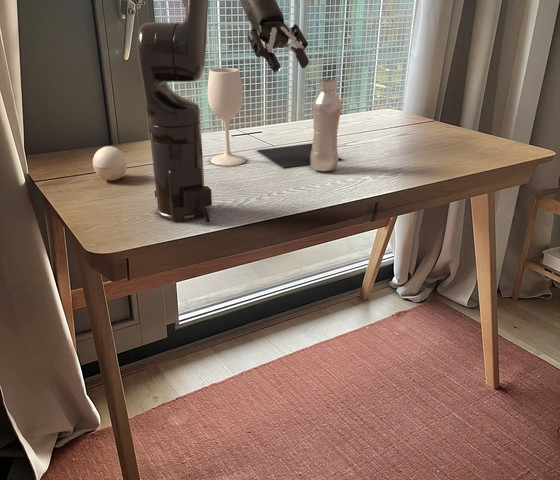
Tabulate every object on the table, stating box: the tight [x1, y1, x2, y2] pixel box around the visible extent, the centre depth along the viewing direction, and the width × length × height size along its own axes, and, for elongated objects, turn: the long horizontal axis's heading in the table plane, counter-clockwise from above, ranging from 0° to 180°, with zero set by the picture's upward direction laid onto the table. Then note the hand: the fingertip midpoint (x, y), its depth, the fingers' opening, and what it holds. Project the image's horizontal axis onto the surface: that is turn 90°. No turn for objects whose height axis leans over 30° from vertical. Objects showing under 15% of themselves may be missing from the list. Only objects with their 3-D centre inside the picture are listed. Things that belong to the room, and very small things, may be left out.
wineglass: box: [207, 67, 247, 167], centre depth 135 cm, size 9×9×21 cm
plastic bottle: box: [309, 78, 343, 172], centre depth 129 cm, size 6×7×20 cm
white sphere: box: [82, 145, 128, 182], centre depth 125 cm, size 10×7×7 cm
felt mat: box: [257, 142, 343, 169], centre depth 144 cm, size 16×16×1 cm
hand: (292, 67), depth 131 cm, fingers open, 8 cm apart
